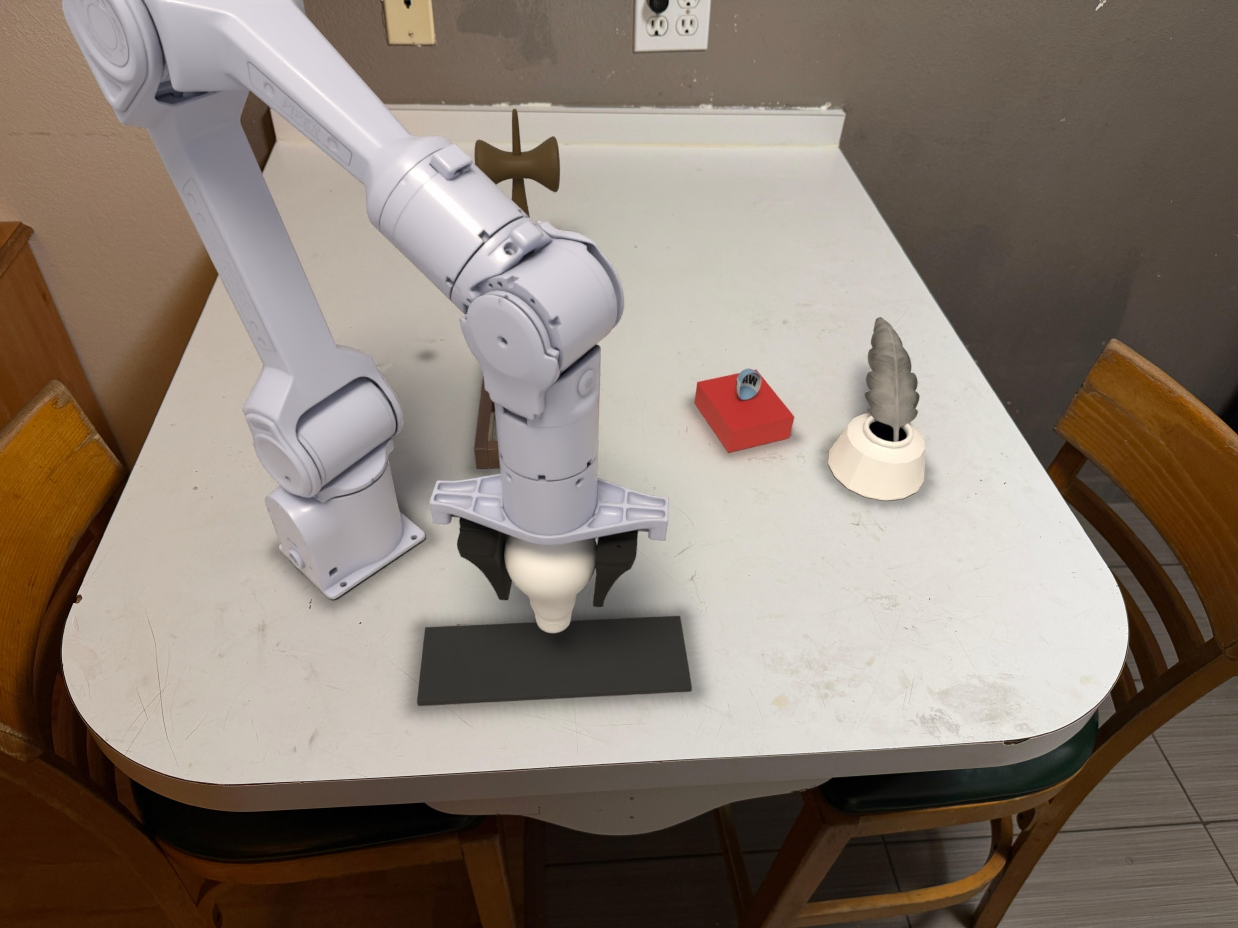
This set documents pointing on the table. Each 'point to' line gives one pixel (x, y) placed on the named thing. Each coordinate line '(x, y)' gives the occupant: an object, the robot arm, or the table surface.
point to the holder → (486, 434)
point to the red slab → (743, 410)
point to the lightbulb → (550, 577)
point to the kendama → (520, 164)
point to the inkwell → (883, 427)
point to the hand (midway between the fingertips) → (553, 592)
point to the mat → (552, 661)
